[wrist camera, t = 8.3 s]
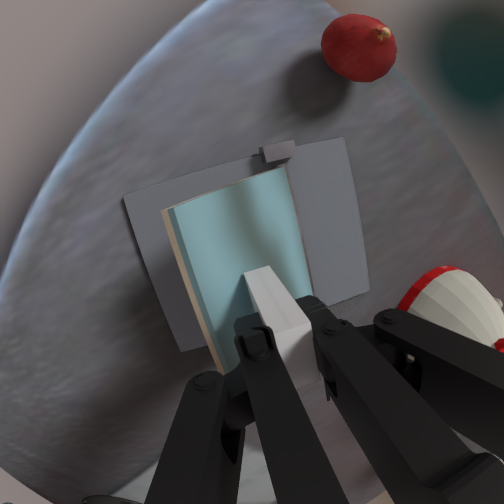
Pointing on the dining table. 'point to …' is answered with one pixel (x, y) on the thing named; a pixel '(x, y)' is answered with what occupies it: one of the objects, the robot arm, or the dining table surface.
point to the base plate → (310, 214)
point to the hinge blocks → (279, 155)
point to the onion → (359, 47)
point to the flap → (237, 252)
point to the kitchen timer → (457, 305)
